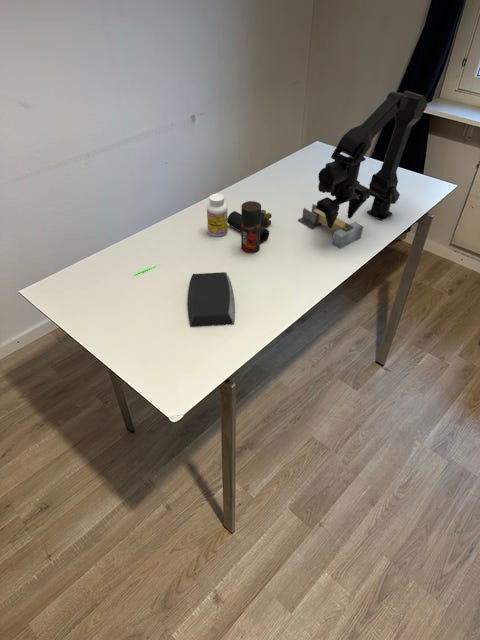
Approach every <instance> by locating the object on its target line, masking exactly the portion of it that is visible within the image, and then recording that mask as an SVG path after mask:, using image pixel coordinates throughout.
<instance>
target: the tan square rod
mask: <svg viewBox="0 0 480 640" xmlns="http://www.w3.org/2000/svg"><path fill="white" fill-rule="evenodd" d="M313 213H314V214H316V215H317V220H316V221H317V222H319V223H321V224H322V225H321V226H324V227H325V228H327V229H329V230H331V231H332V232H333V233H334V232H335V231H337V230H339V229H342V230H344V231H345V232H347V231H349V230H351V229H352V228H353V226H351V225H349V223H347V222H345V221H344V220H342V219H340V218H338V217H337V218H336V220H335V222H334V224H333V226H332V228H329V227H328V224H327V220H326V216H325V214H324V213H323V212H322V211H320V210H318V209H315V210H313Z"/></svg>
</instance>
